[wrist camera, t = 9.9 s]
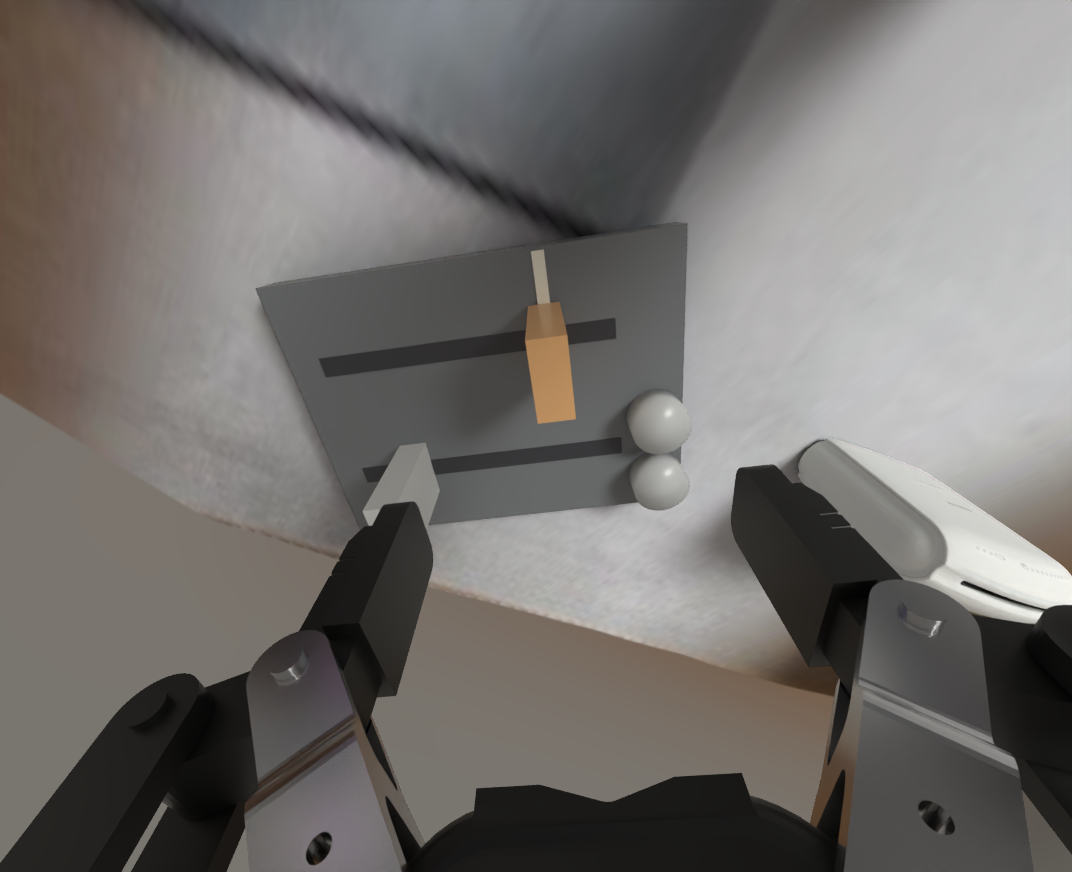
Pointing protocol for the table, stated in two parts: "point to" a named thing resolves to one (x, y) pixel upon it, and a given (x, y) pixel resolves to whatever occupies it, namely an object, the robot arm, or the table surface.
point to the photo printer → (935, 533)
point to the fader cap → (549, 363)
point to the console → (496, 376)
